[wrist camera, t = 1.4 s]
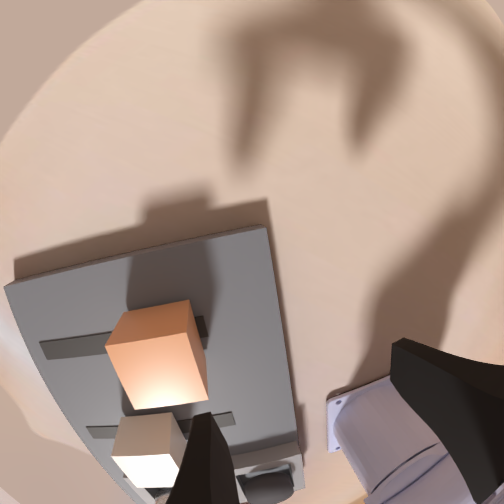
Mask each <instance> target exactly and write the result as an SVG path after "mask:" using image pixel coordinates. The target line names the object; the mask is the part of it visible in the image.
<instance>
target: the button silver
mask: <svg viewBox="0 0 504 504" xmlns="http://www.w3.org/2000/svg"><path fill="white" fill-rule="evenodd" d="M171 490H172V488H165V489H162V490H160V491H158V492H157V493H156V495H155V504H165V503H166V501H167V499H168V497H169V494H170V492H171Z"/></svg>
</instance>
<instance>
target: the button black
mask: <svg viewBox="0 0 504 504" xmlns="http://www.w3.org/2000/svg"><path fill="white" fill-rule="evenodd" d="M244 489H245V494H246V499H247V501H248V502H249V503H250V504H277V503H280V502H282V501H284V500H286V499H288V498H289V497H291V496H292V494H293V493H294V489H293V486H292V483H291V480H290V477H289V476H288V475H287V474H284V473H279V472H271V473H265V474H261V475H257V476H255V477H253V478H251V479H249V480H248V481H247V482H246V483H245V485H244Z"/></svg>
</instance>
